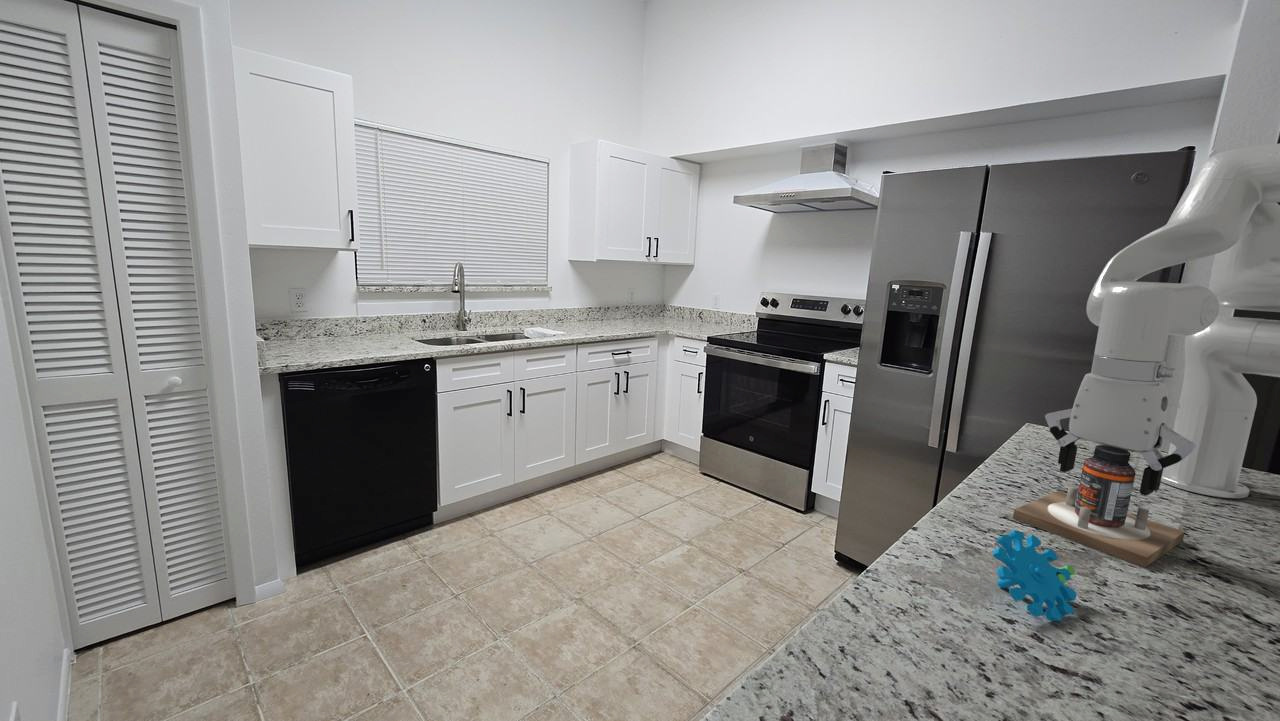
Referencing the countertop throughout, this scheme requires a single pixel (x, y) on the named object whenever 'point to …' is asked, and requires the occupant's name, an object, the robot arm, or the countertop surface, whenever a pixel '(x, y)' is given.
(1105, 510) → the supplement bottle
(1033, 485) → the countertop surface
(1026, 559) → the gear
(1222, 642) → the countertop surface
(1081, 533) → the pin board
